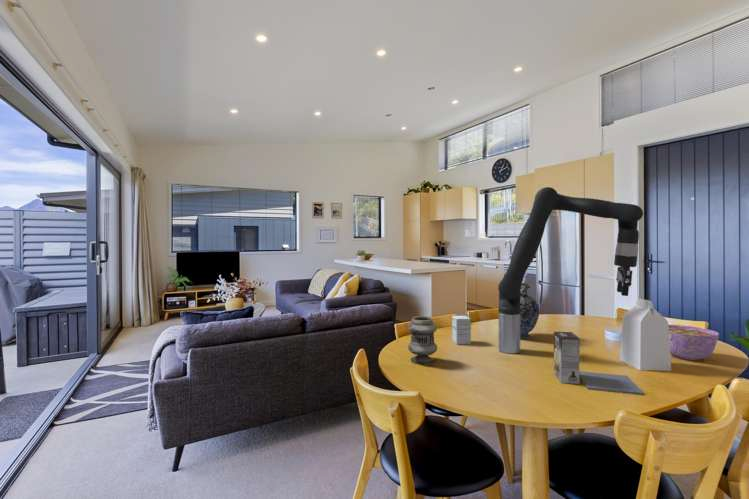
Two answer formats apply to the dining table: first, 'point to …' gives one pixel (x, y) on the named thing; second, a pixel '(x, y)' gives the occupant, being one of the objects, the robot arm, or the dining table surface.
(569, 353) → the coffee box
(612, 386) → the grey mat
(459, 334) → the supplement box
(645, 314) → the milk
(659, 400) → the dining table surface
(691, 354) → the bowl of food
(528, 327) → the decorative vase
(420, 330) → the apothecary jar
